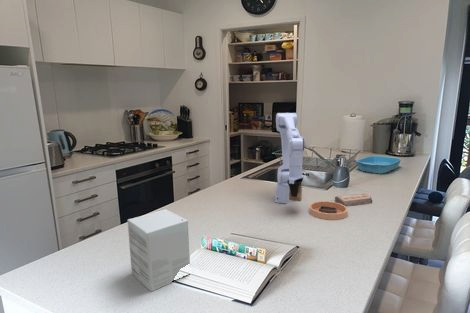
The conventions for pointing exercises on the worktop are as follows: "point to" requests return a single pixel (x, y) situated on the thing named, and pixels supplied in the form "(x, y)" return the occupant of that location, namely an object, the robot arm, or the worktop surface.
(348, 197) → the packaged product
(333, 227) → the worktop surface
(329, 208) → the hinged hatch frame
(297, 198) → the wood hatch door
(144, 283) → the supplement box
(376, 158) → the casserole dish
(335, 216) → the orange round shallow bowl
